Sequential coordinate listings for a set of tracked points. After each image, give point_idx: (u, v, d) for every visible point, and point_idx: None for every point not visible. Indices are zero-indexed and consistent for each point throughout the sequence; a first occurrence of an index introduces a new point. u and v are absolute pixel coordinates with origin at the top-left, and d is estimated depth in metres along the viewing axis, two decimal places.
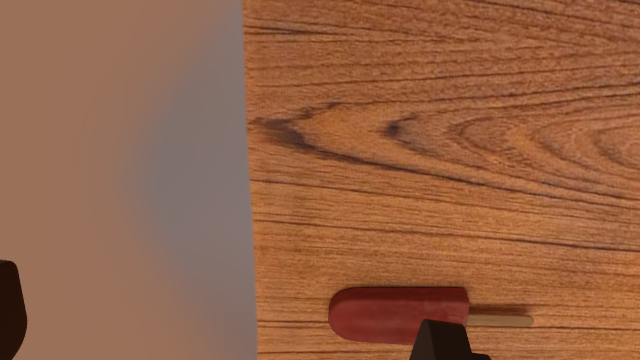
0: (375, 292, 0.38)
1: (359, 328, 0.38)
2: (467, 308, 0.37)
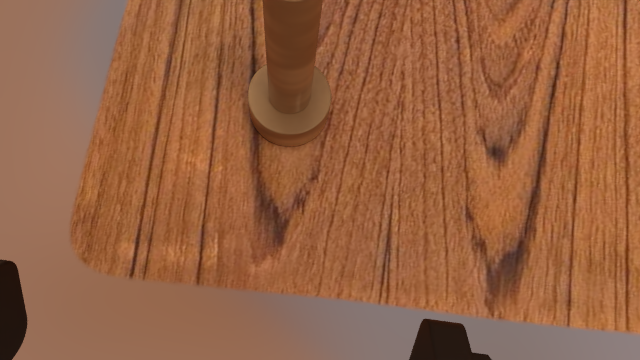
0: None
1: None
2: None
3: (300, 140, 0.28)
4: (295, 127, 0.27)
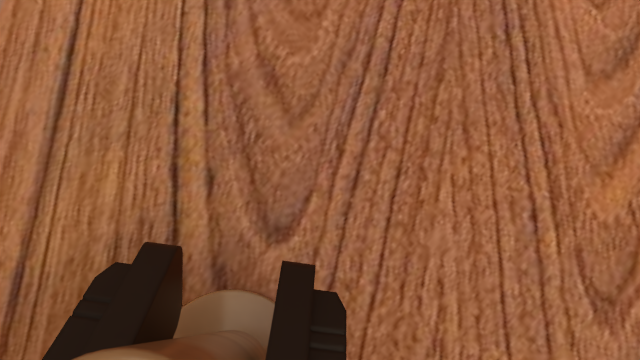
0: None
1: None
2: None
3: None
4: None
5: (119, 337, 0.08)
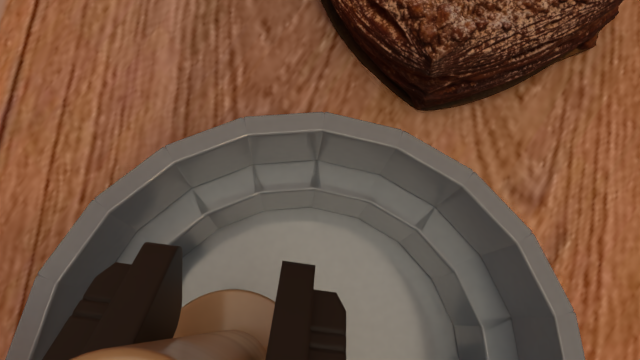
0: None
1: None
2: None
3: None
4: None
5: (119, 337, 0.08)
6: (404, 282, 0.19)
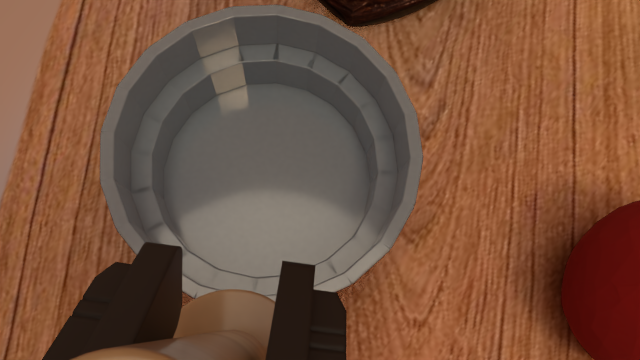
0: None
1: None
2: None
3: None
4: None
5: (119, 337, 0.08)
6: (335, 129, 0.29)
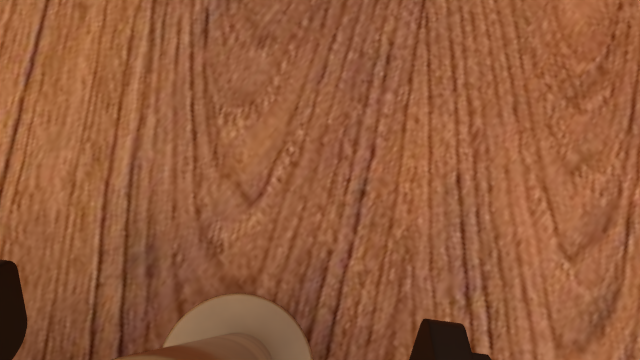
0: None
1: None
2: None
3: None
4: None
5: None
6: None
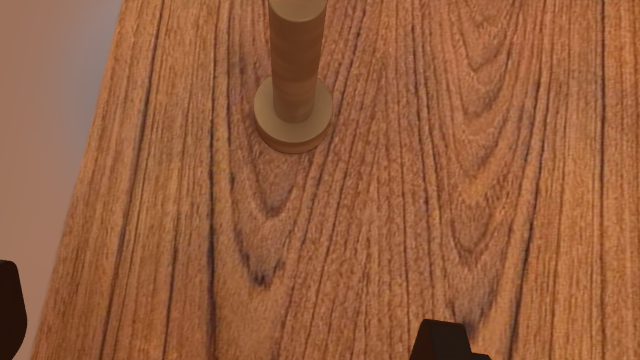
0: None
1: None
2: None
3: (303, 148, 0.29)
4: (298, 135, 0.28)
5: None
6: None
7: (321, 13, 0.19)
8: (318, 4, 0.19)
